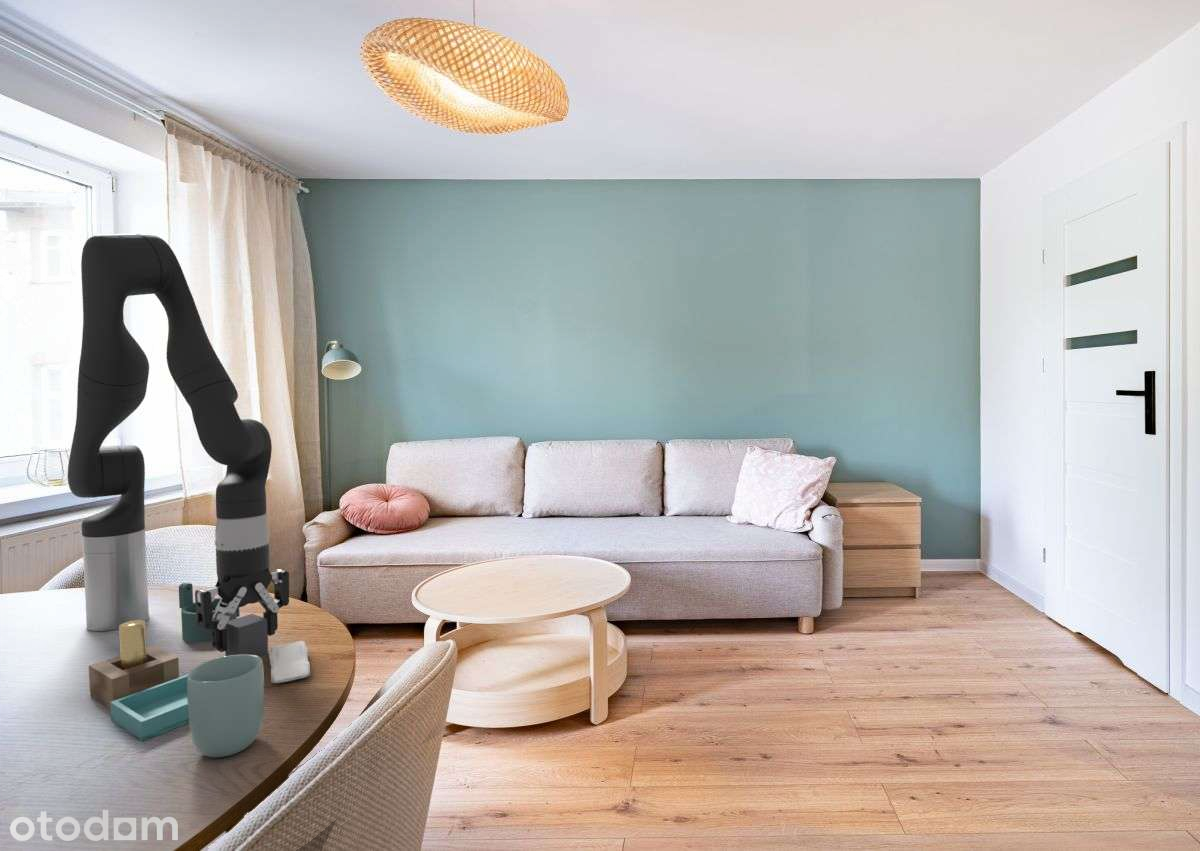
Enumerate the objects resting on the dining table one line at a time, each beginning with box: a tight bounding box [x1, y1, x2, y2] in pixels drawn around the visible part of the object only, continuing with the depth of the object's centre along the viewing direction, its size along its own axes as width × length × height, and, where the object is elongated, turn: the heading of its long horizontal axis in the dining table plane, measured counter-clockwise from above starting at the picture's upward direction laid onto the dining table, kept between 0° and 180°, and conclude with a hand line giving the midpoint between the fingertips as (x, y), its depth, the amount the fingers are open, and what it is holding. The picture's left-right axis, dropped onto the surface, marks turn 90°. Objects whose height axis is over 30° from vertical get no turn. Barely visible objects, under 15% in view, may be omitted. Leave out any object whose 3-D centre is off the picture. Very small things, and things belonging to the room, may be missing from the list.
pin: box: [118, 620, 147, 670], centre depth 88 cm, size 3×3×10 cm
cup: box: [187, 654, 265, 758], centre depth 74 cm, size 8×8×10 cm
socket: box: [88, 644, 180, 710], centre depth 88 cm, size 8×8×4 cm
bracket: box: [178, 582, 241, 644], centre depth 110 cm, size 9×9×9 cm
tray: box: [110, 673, 189, 742], centre depth 83 cm, size 9×12×2 cm
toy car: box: [268, 640, 311, 684], centre depth 96 cm, size 6×12×3 cm, turn 29°
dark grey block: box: [224, 613, 269, 658], centre depth 100 cm, size 4×4×6 cm
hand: (246, 641), depth 100 cm, fingers open, 7 cm apart
